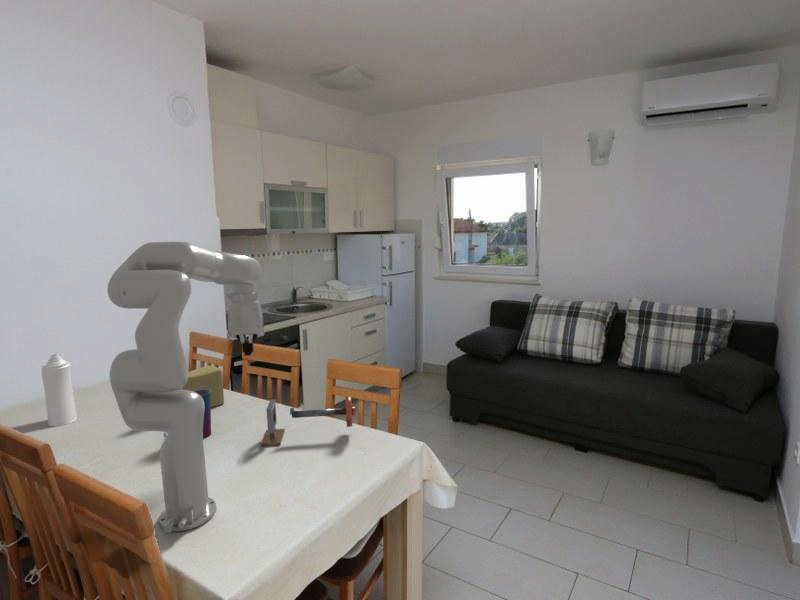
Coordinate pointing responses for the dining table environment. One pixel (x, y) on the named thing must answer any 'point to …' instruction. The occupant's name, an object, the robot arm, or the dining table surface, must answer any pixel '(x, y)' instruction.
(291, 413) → the copper disc on rod
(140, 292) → the robot arm
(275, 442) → the eye post
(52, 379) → the spray can
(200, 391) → the cup
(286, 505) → the dining table surface
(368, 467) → the dining table surface
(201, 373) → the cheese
